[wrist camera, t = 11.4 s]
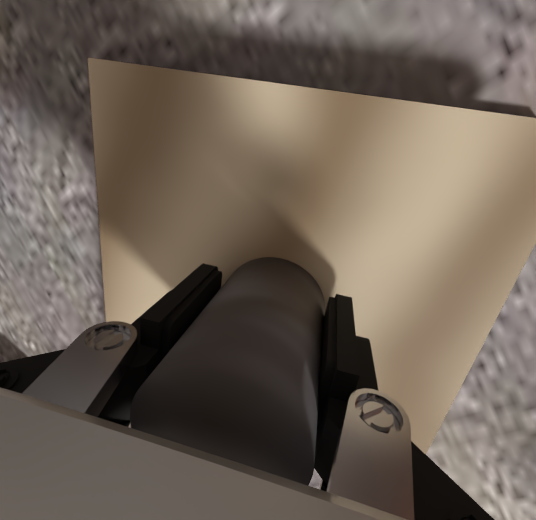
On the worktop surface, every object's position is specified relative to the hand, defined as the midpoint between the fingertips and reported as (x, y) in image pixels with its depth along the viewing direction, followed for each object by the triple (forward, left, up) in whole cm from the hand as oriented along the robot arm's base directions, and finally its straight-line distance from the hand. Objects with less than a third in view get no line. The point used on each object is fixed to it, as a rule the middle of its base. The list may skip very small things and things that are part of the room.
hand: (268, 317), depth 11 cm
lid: (0, 0, -2) cm, 2 cm away
